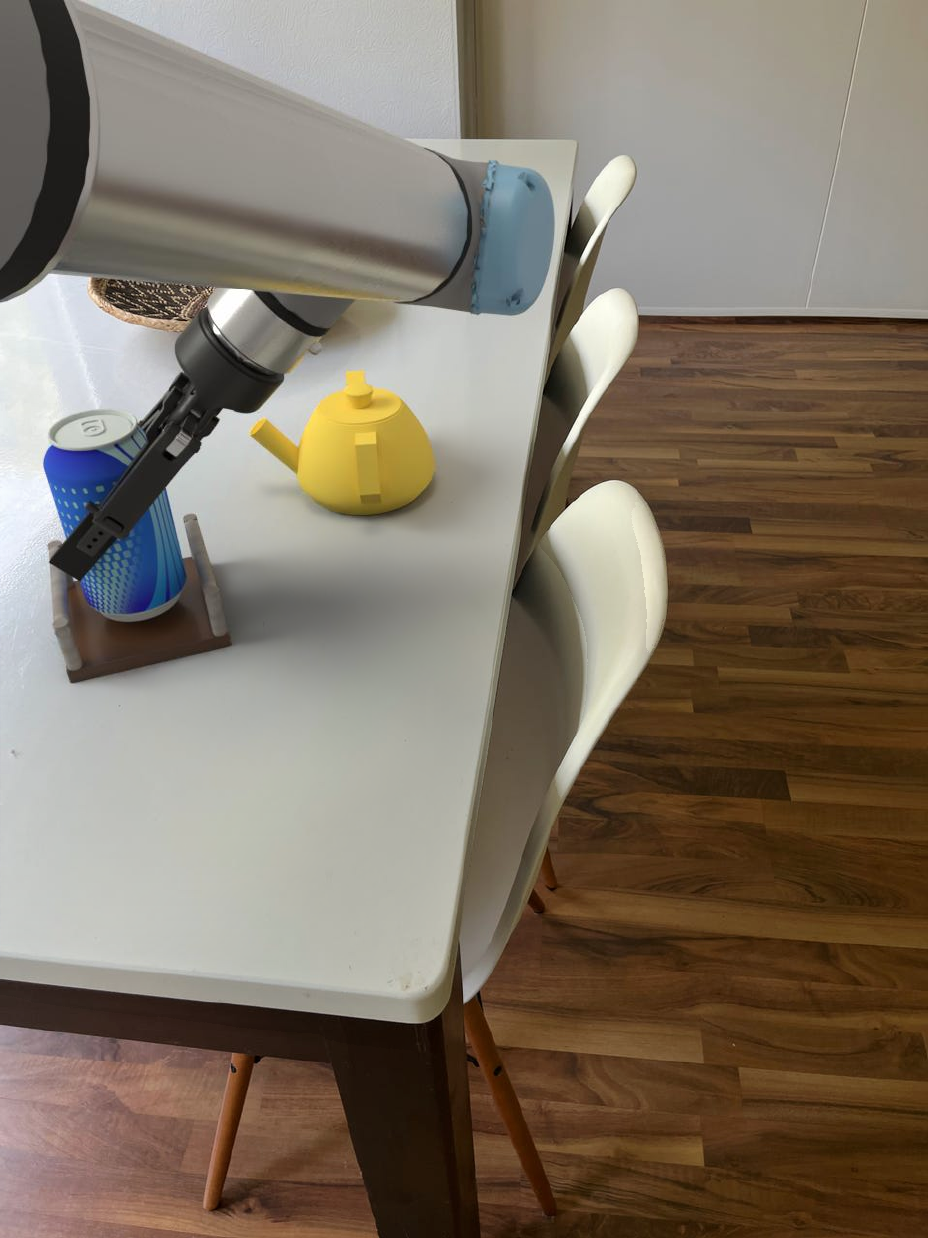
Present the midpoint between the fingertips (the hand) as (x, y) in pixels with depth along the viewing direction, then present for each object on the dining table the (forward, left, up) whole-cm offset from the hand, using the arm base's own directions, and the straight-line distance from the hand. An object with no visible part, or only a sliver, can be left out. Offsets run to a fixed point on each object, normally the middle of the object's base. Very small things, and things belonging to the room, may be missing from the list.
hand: (81, 537), depth 81 cm
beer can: (+2, -2, -6) cm, 7 cm away
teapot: (+29, +2, -9) cm, 30 cm away
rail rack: (+2, -2, -9) cm, 9 cm away
